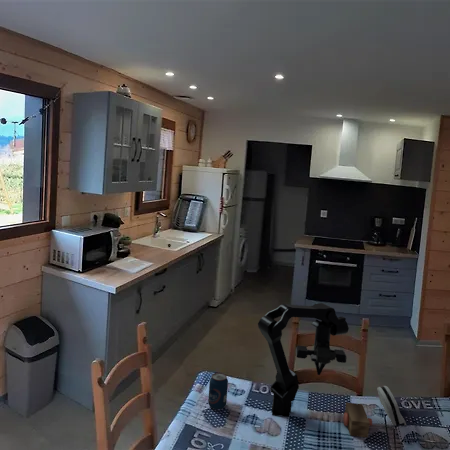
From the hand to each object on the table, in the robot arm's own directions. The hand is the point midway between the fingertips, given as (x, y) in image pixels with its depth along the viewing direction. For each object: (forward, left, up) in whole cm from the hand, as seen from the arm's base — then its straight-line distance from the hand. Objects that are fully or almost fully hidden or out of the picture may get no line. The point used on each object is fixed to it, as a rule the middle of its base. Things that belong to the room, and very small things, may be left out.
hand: (318, 374), depth 173 cm
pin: (+14, -13, -12) cm, 22 cm away
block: (+13, -13, -12) cm, 22 cm away
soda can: (-38, -10, -12) cm, 41 cm away
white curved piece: (+28, -1, -12) cm, 31 cm away
